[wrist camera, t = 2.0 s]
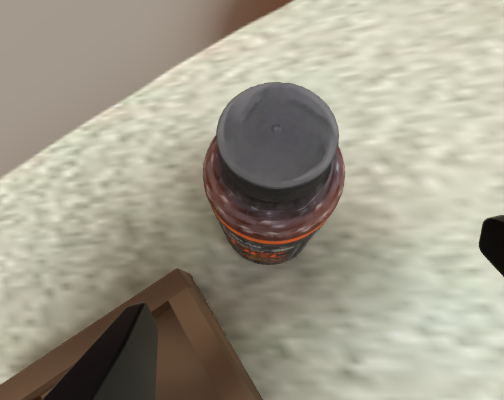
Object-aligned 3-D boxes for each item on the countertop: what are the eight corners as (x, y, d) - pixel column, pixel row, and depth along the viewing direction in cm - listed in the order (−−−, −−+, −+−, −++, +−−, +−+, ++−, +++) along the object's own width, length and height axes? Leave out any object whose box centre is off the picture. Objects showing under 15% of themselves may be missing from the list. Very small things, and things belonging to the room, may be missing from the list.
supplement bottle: (214, 255, 19) (154, 192, 8) (237, 175, 21) (211, 44, 10) (303, 276, 18) (358, 239, 8) (318, 192, 20) (379, 71, 10)
